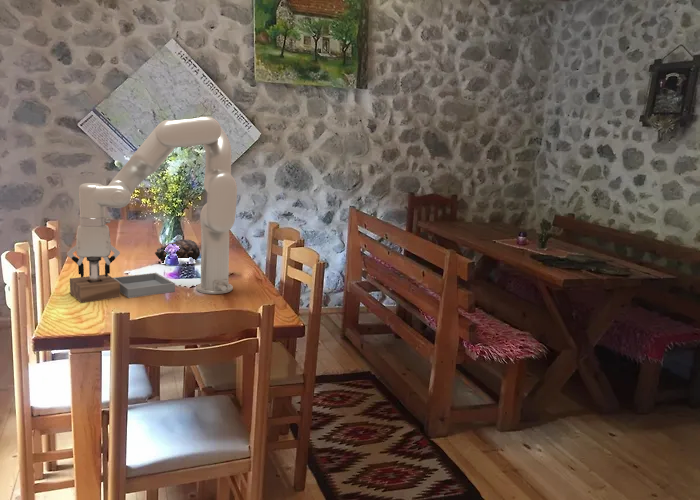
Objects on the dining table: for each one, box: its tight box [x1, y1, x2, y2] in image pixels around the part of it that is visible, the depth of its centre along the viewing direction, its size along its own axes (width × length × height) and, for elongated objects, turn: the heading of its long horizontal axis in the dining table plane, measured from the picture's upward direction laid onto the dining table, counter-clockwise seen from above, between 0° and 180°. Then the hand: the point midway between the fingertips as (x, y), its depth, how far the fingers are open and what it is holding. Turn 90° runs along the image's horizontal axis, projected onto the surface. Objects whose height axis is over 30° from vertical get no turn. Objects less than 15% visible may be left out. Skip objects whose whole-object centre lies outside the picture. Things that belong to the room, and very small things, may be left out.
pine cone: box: [154, 239, 201, 263], centre depth 239 cm, size 10×18×10 cm, turn 114°
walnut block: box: [69, 274, 121, 304], centre depth 192 cm, size 12×12×5 cm
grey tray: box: [112, 272, 176, 299], centre depth 202 cm, size 16×16×3 cm
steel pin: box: [86, 256, 102, 283], centre depth 191 cm, size 4×4×14 cm
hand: (94, 275), depth 191 cm, fingers open, 6 cm apart
